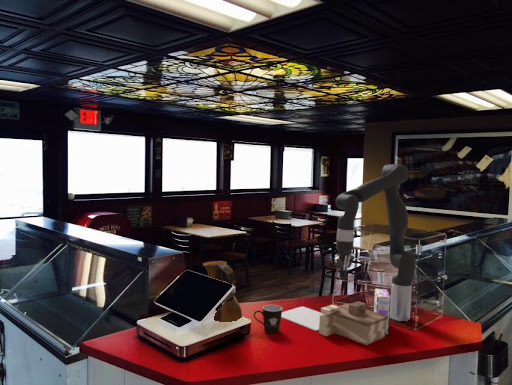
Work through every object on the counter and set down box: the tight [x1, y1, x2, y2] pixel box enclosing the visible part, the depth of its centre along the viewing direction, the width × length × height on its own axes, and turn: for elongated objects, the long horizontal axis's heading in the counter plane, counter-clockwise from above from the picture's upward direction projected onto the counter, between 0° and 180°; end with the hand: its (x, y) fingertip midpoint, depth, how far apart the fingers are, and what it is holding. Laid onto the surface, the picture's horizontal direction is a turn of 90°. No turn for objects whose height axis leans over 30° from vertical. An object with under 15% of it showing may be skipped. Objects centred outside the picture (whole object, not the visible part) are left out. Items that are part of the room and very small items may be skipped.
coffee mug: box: [253, 304, 284, 334], centre depth 188 cm, size 12×9×10 cm
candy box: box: [373, 288, 391, 335], centre depth 196 cm, size 14×6×16 cm, turn 168°
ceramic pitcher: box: [202, 260, 243, 322], centre depth 184 cm, size 20×20×30 cm
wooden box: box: [318, 313, 386, 346], centre depth 186 cm, size 20×20×8 cm
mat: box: [281, 306, 324, 332], centre depth 206 cm, size 20×25×1 cm
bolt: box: [320, 304, 340, 314], centre depth 188 cm, size 8×4×2 cm, turn 133°
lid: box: [331, 300, 388, 327], centre depth 188 cm, size 15×21×6 cm
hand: (342, 277), depth 193 cm, fingers closed
